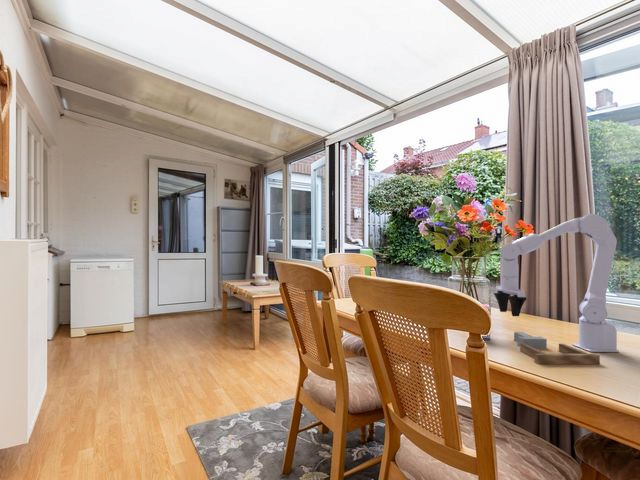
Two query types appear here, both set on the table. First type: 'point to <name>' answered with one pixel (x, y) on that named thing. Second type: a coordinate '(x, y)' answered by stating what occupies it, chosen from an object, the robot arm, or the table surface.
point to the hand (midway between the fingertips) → (509, 313)
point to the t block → (530, 340)
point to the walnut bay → (560, 355)
